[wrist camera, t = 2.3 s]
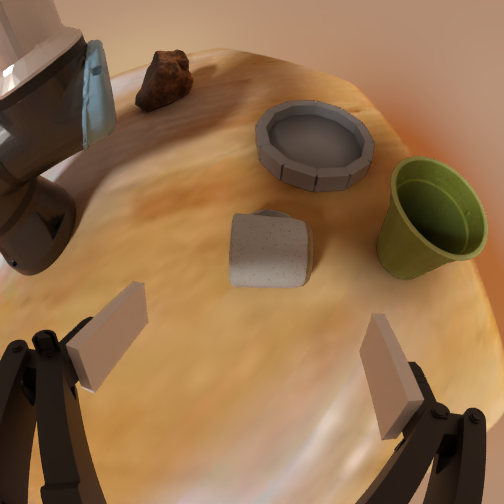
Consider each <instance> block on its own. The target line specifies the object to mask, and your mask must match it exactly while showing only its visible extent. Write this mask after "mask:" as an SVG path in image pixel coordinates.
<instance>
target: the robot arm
mask: <svg viewBox="0 0 504 504" xmlns="http://www.w3.org/2000/svg"><path fill="white" fill-rule="evenodd" d="M115 125H116V111H115V105H114V99H113V93H112V87H111V82H110V77H109V72H108V67H107V62H106V57H105V52H104V49H103V47H102V42H101V41H100V40H94V41H93V40H91V41H89V42H88V43H86V42H85V40H84V37H83V35H82V32H81V30H79V29H75V28H71V27H66V26H64V25H63V24H62V23H61V21H60V18H59V15H58V13H57V10H56V7H55V4H54V1H53V0H0V252H1V254H2V255H3V257H4V258H5V260H6V261H7V263H8V264H9V265H10V266H11V267H12V268H13V269H15V270H16V271H18V272H19V273H21V274H23V275H35V274H37V273H40V272H41V271H43V270H45V269H46V268H47V267H48V266H50V265H51V264H52V263H53V262H54V261H55V259H56V258H57V257H58V256H59V254H60V253H61V252H62V250H63V249H64V247H65V245H66V243H67V242H68V240H69V237H70V235H71V232H72V230H73V226H74V222H75V214H76V210H75V204H74V201H73V199H72V198H71V196H70V195H69V194H68V193H67V192H66V190H65V189H64V188H62V187H61V186H59V185H57V184H55V183H53V182H52V181H50V180H48V179H46V178H44V177H42V176H40V174H42V173H44V172H45V171H47V170H48V169H50V168H52V167H53V166H55V165H57V164H58V163H60V162H62V161H63V160H65V159H67V158H69V157H70V156H72V155H74V154H76V153H78V152H79V151H81V150H83V149H84V150H87V149H88V148H89V146H91V145H93V144H94V143H96V142H98V141H100V140H102V139H104V138H105V137H107V136H108V135H110V134H111V133H112V131H113V130H114V128H115ZM147 323H148V315H147V306H146V297H145V286H144V283H140V282H134V281H133V282H132V283H131V284H130V285H129V286H127V287H126V288H125V289H124V290H123V291H122V292H121V293H120V294H119V295H117V296H116V297H115V298H114V299H113V300H112V301H111V302H110V303H109V304H108V305H107V306H105V307H104V308H103V309H102V310H101V311H100V312H99V313H98V314H97V315H96V316H95V317H88V318H86V319H84V320H82V321H81V322H80V323H79V324H78V325H77V327H75V328H74V329H73V330H72V331H71V332H69V333H68V334H67V335H66V336H65V337H64V338H63V339H62V340H61V341H60V342H58V339H57V336H56V333H55V332H53V331H51V330H42V331H39V332H37V333H36V334H35V335H34V336H33V338H32V342H33V344H34V347H35V349H36V350H33V349H29V348H28V345H27V343H26V342H25V341H24V340H15V341H13V342H11V343H10V344H9V345H8V346H7V348H6V350H5V352H4V354H3V356H2V359H1V361H0V504H28V483H29V470H30V460H31V452H32V445H33V438H34V432H35V427H36V421H37V428H38V439H39V448H40V456H41V463H42V469H43V474H44V480H45V485H44V486H42V487H41V490H40V492H41V498H42V502H43V504H107V503H106V500H105V498H104V495H103V492H102V489H101V487H100V484H99V481H98V478H97V475H96V472H95V468H94V465H93V462H92V458H91V454H90V451H89V447H88V443H87V439H86V435H85V430H84V426H83V421H82V416H81V411H80V405H79V399H78V393H77V388H76V386H75V384H76V383H77V381H78V380H79V382H80V384H81V386H82V388H83V389H85V390H88V391H90V392H92V393H95V392H96V391H97V389H98V388H99V386H100V385H101V384H102V382H103V381H104V380H105V378H106V377H107V376H108V374H109V373H110V372H111V370H112V369H113V368H114V366H115V365H116V364H117V362H118V361H119V360H120V358H121V357H122V356H123V354H124V353H125V352H126V350H127V349H128V348H129V346H130V345H131V344H132V343H133V341H134V340H135V339H136V337H137V336H138V335H139V334H140V332H141V331H142V330H143V328H144V327H145V326H146V325H147ZM359 352H360V356H361V359H362V363H363V366H364V370H365V374H366V377H367V381H368V385H369V389H370V393H371V397H372V401H373V405H374V409H375V413H376V417H377V421H378V426H379V430H380V435H381V440H387V439H396V438H397V437H398V436H399V434H400V433H401V432H403V436H404V438H403V439H402V441H401V442H400V443H399V444H398V445H397V447H396V448H395V449H394V450H395V451H394V453H393V454H392V456H391V457H390V459H389V460H388V462H387V463H386V465H385V466H384V468H383V469H382V470H381V472H380V473H379V474H378V476H377V477H376V478H375V480H374V481H373V482H372V484H371V485H370V486H369V488H368V489H367V490H366V491H365V493H364V494H363V495H362V496H361V497H360V499H359V500H358V501H357V502H356V503H355V504H408V503H409V502H410V500H411V498H412V497H413V495H414V493H415V492H416V490H417V488H418V486H419V485H420V483H421V481H422V479H423V478H424V476H425V474H426V472H427V470H428V468H429V466H430V464H431V462H432V460H433V458H434V460H433V465H432V470H431V475H430V479H429V483H428V487H427V491H426V494H425V498H424V501H423V504H481V502H482V496H483V488H484V478H485V464H486V419H485V415H484V414H483V412H481V411H480V410H479V409H477V408H469V409H467V410H466V411H465V413H464V414H463V415H460V414H453V413H450V411H449V409H448V408H447V407H446V406H445V405H443V404H441V403H438V402H436V399H435V397H434V395H433V393H432V390H431V388H430V386H429V384H428V383H427V380H426V377H424V376H425V375H424V373H423V371H422V369H421V368H420V367H419V366H418V365H417V364H416V363H415V362H408V361H407V359H406V357H405V355H404V353H403V351H402V349H401V347H400V344H399V342H398V340H397V338H396V336H395V334H394V332H393V330H392V328H391V326H390V324H389V322H388V320H387V318H386V316H385V315H384V314H374V313H372V316H371V319H370V322H369V325H368V328H367V331H366V334H365V337H364V340H363V343H362V345H361V348H360V351H359Z"/></svg>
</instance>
